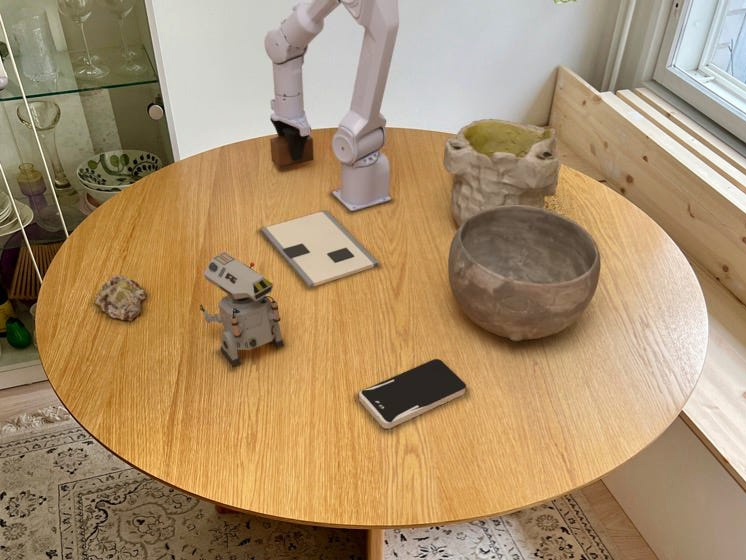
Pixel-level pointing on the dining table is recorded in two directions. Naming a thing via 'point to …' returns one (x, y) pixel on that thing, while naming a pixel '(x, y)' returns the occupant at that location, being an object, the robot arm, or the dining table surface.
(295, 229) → the whiteboard
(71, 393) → the dining table surface
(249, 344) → the figurine
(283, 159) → the brown rectangular block
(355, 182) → the robot arm
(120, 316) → the mineral rock
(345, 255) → the charcoal rectangular plate
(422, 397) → the smartphone
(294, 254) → the dark grey tile
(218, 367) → the dining table surface
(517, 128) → the ceramic vessel
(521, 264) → the bowl
